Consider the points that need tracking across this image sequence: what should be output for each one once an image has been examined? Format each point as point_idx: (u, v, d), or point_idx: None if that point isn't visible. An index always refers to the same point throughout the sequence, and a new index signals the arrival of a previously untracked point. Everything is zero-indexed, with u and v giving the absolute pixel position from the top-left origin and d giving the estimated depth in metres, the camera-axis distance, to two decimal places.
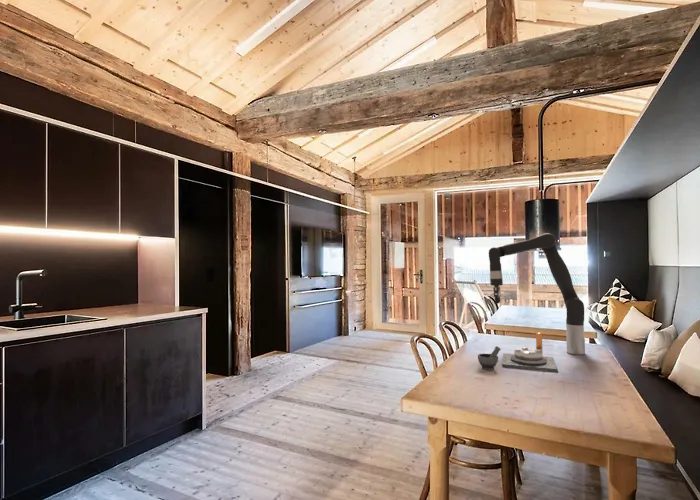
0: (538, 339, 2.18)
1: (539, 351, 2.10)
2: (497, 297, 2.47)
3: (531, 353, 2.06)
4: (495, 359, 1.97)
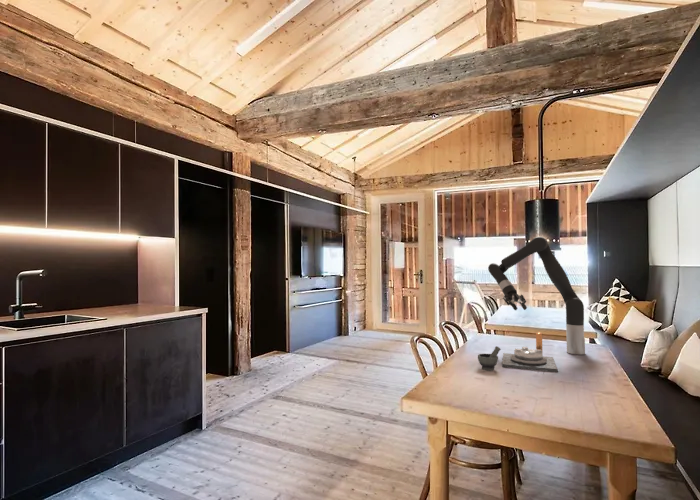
0: (538, 339, 2.18)
1: (539, 351, 2.10)
2: (512, 303, 2.37)
3: (531, 353, 2.06)
4: (495, 359, 1.97)
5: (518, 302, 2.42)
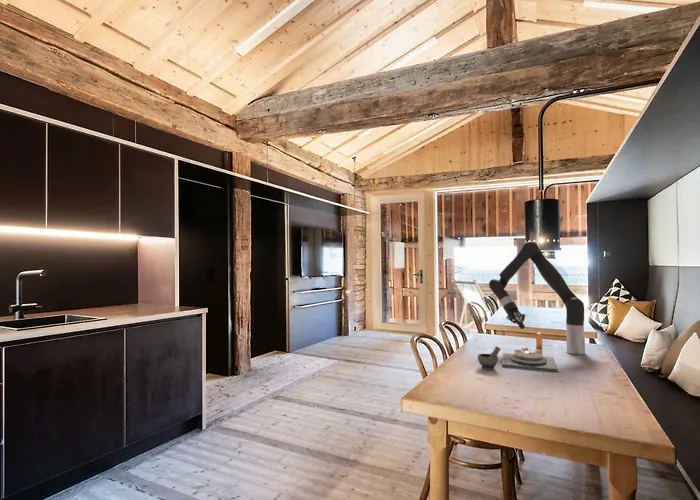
0: (538, 339, 2.18)
1: (539, 351, 2.10)
2: (518, 322, 2.33)
3: (531, 353, 2.06)
4: (495, 359, 1.97)
5: None
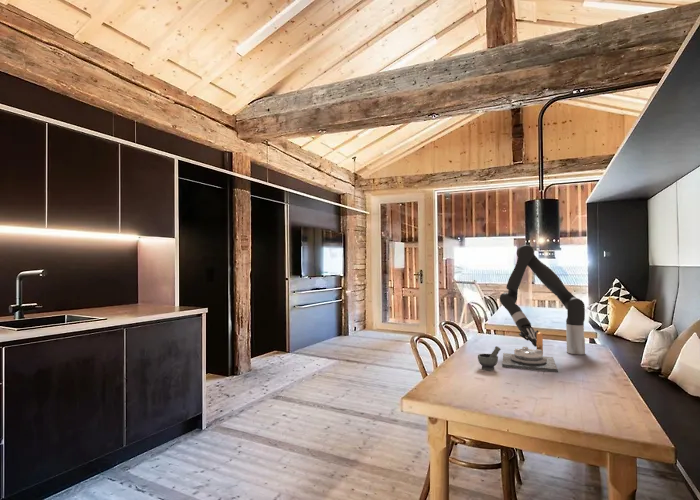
0: (538, 339, 2.18)
1: (539, 351, 2.10)
2: (531, 339, 2.23)
3: (531, 353, 2.06)
4: (495, 359, 1.97)
5: None
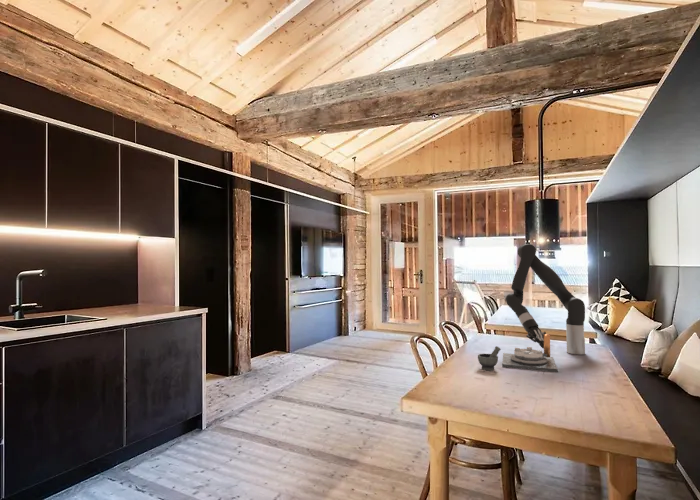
0: (545, 340, 2.14)
1: (538, 352, 2.08)
2: (539, 341, 2.19)
3: (525, 353, 2.07)
4: (495, 359, 1.97)
5: None
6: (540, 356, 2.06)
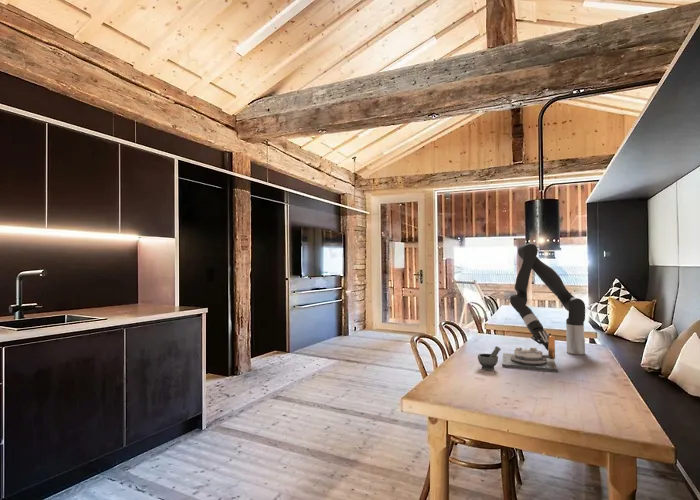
0: (548, 342, 2.10)
1: (536, 352, 2.07)
2: (544, 343, 2.15)
3: (520, 352, 2.09)
4: (495, 359, 1.97)
5: None
6: (536, 356, 2.05)
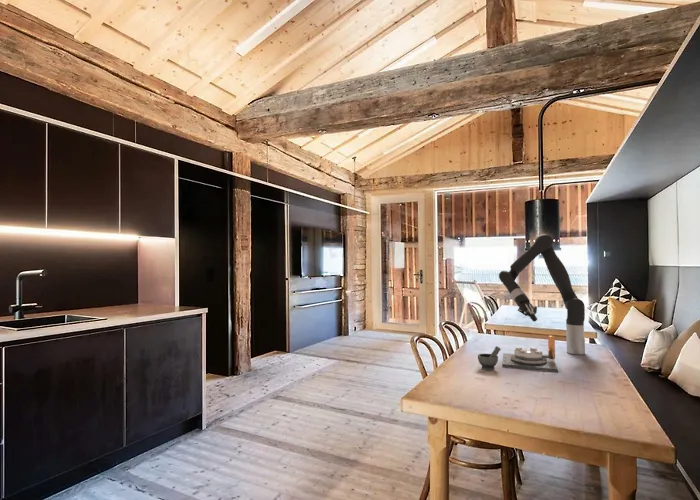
0: (548, 342, 2.10)
1: (536, 352, 2.07)
2: (530, 314, 2.26)
3: (520, 352, 2.09)
4: (495, 359, 1.97)
5: None
6: (536, 356, 2.05)
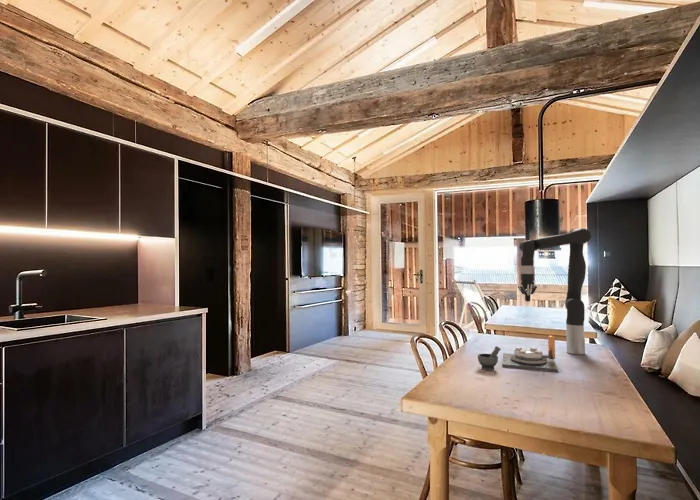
0: (548, 342, 2.10)
1: (536, 352, 2.07)
2: (526, 295, 2.37)
3: (520, 352, 2.09)
4: (495, 359, 1.97)
5: None
6: (536, 356, 2.05)
